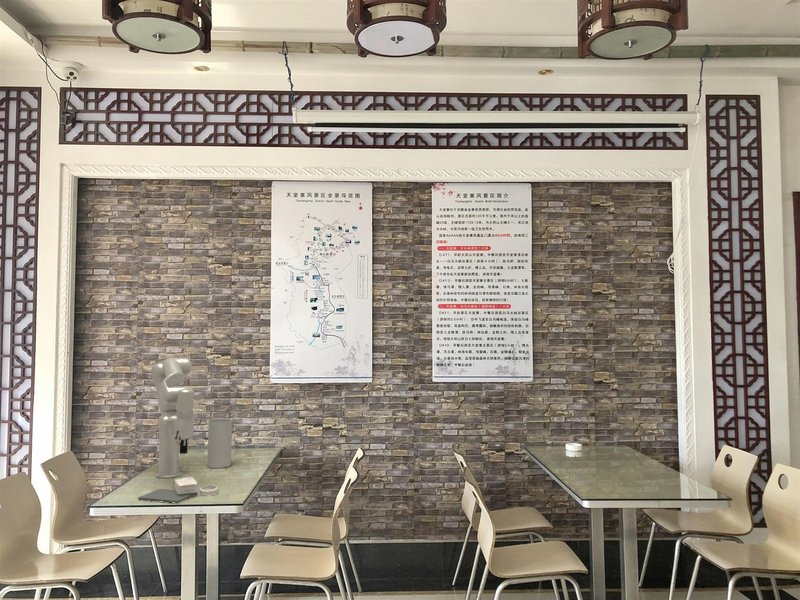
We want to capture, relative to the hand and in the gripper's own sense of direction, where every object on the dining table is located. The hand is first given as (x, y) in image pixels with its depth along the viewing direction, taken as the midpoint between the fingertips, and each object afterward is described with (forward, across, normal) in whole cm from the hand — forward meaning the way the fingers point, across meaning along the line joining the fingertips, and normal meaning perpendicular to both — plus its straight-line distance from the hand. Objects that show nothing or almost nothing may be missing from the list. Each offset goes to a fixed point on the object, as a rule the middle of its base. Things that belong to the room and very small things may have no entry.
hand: (183, 453), depth 291 cm
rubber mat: (+16, +16, +3) cm, 23 cm away
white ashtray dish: (+16, +5, +17) cm, 24 cm away
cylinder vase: (+18, -45, -7) cm, 49 cm away
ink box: (+13, +4, +3) cm, 14 cm away
